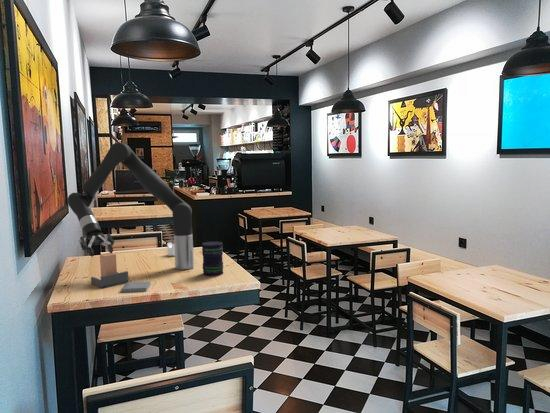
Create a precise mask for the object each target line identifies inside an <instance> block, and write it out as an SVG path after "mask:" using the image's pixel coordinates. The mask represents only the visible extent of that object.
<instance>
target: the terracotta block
mask: <svg viewBox="0 0 550 413" xmlns="http://www.w3.org/2000/svg"><path fill="white" fill-rule="evenodd" d="M99 261H100V262H99V264H100V277H101V276H106V275H111V274H116V273H117V272H118V268H117V254H116V253H113V252H112V253H109V252H108V253H102V254H99Z"/></svg>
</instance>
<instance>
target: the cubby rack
mask: <svg viewBox="0 0 550 413" xmlns="http://www.w3.org/2000/svg"><path fill="white" fill-rule="evenodd" d="M127 282H129V271H122V272H121V271H120V272H118V271H117V273H116V274H111V275H106V276H101V275H100V278H97V277H95V276H90V284H91V285H93V286H96V287H98V288H101V289H105V288H109V287H114V286H119V285H122V284H124V285H125V284H126V283H127Z"/></svg>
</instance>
